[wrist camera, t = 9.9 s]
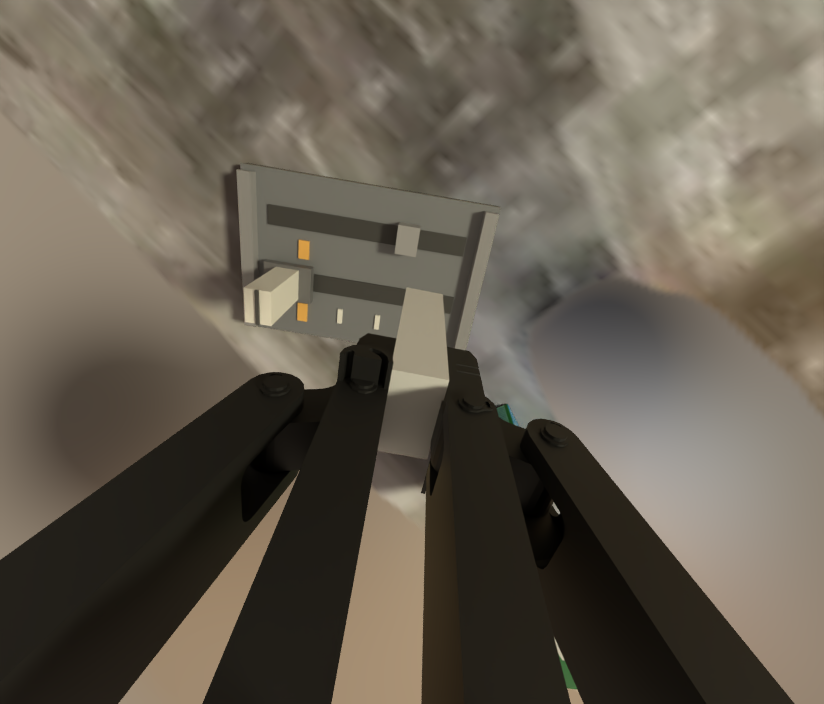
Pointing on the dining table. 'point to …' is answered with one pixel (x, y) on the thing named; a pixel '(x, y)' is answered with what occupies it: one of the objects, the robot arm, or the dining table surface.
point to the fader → (277, 291)
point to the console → (363, 250)
